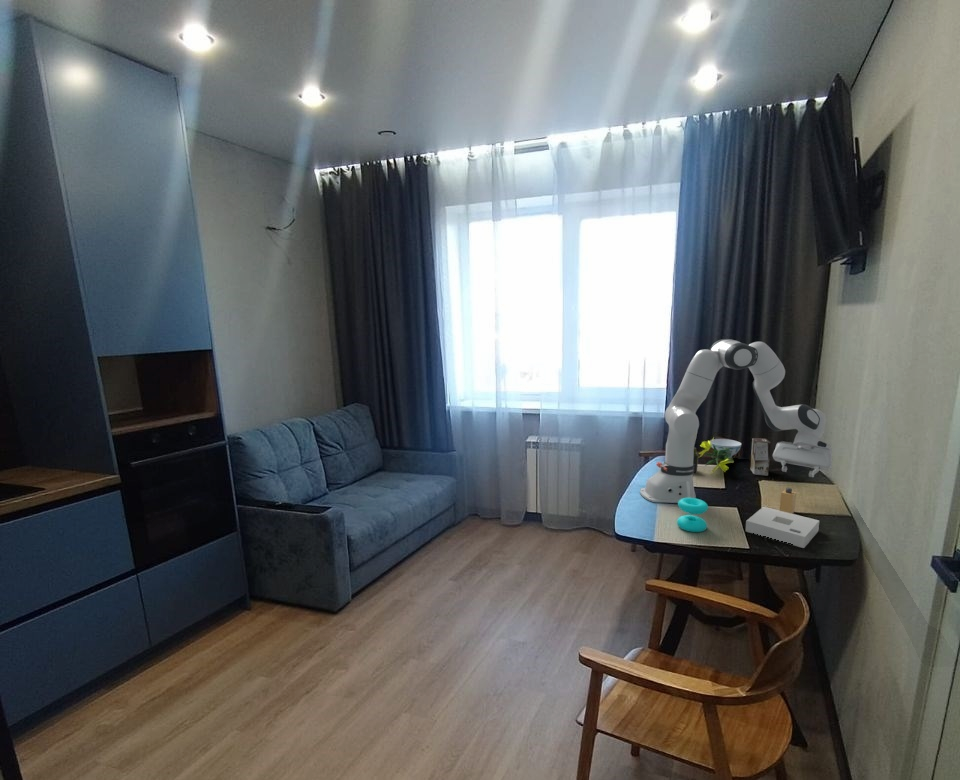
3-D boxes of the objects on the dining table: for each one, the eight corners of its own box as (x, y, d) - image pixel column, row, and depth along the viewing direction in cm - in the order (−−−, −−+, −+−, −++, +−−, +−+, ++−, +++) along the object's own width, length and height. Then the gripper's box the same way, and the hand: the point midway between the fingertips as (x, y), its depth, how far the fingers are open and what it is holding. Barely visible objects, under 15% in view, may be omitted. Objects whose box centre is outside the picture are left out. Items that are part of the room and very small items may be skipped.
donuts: (705, 509, 170) (675, 503, 176) (703, 536, 172) (674, 529, 178) (710, 499, 178) (681, 494, 184) (709, 525, 180) (680, 519, 186)
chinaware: (744, 456, 263) (745, 442, 262) (734, 462, 253) (735, 447, 252) (715, 450, 274) (716, 437, 273) (705, 456, 264) (705, 442, 262)
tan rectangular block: (779, 511, 191) (781, 488, 189) (782, 509, 193) (784, 486, 192) (791, 514, 188) (793, 491, 186) (794, 511, 191) (796, 488, 189)
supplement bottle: (692, 474, 236) (693, 450, 234) (679, 471, 241) (680, 447, 239) (700, 471, 240) (701, 448, 238) (687, 468, 245) (688, 445, 243)
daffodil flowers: (750, 466, 249) (734, 465, 222) (721, 477, 256) (703, 476, 229) (734, 436, 255) (717, 431, 228) (707, 447, 263) (687, 443, 236)
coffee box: (768, 475, 232) (771, 443, 229) (753, 474, 234) (755, 442, 231) (764, 470, 240) (767, 438, 238) (749, 468, 242) (752, 437, 240)
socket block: (745, 531, 175) (746, 519, 174) (762, 516, 187) (763, 505, 186) (803, 548, 162) (805, 536, 161) (818, 531, 174) (819, 519, 173)
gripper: (776, 436, 206) (766, 463, 201) (834, 445, 191) (826, 475, 186) (778, 444, 210) (769, 471, 205) (836, 454, 195) (828, 483, 190)
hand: (797, 473), depth 196 cm, fingers open, 8 cm apart
